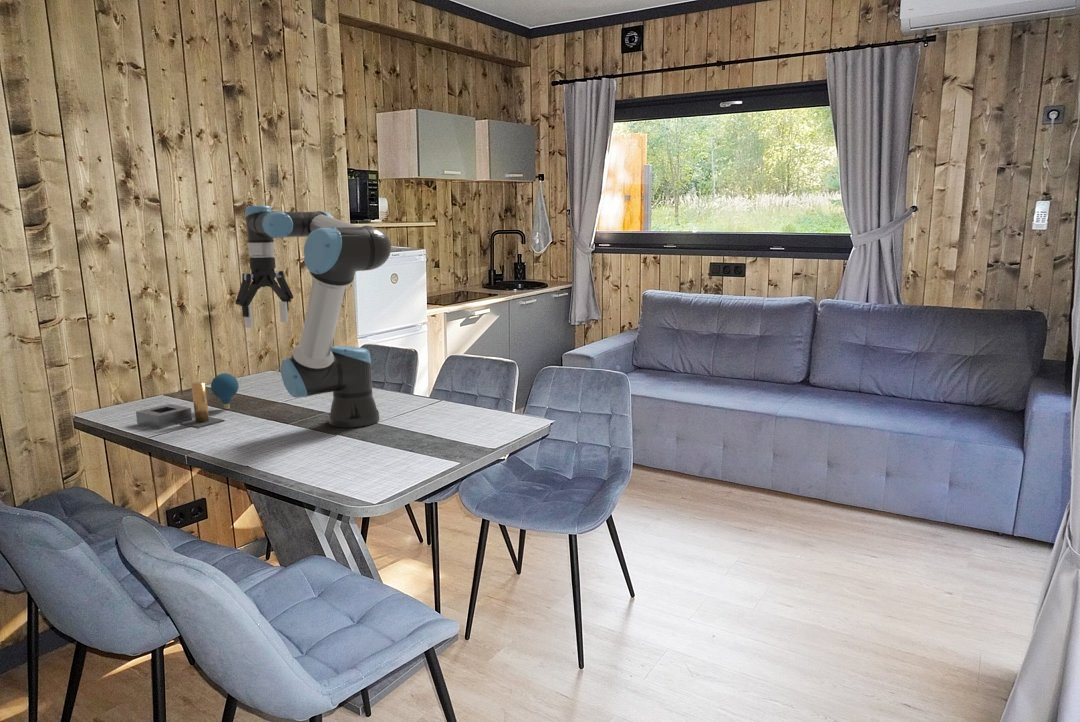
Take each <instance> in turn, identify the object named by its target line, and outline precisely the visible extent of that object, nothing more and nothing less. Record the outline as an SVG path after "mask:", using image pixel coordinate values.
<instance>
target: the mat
mask: <svg viewBox="0 0 1080 722" xmlns="http://www.w3.org/2000/svg"><path fill="white" fill-rule="evenodd" d="M223 422H225V419H223V418H218V417H212V416H209V421H208V422H204V423H196V421H195V418H192V420H189V421H185V422H182V423H180V424H179V425H183V426H187V427H192V428H195V429H196V428H197V429H200V428H204V427H207V426H211V425H215V424H219V423H223Z"/></svg>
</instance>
